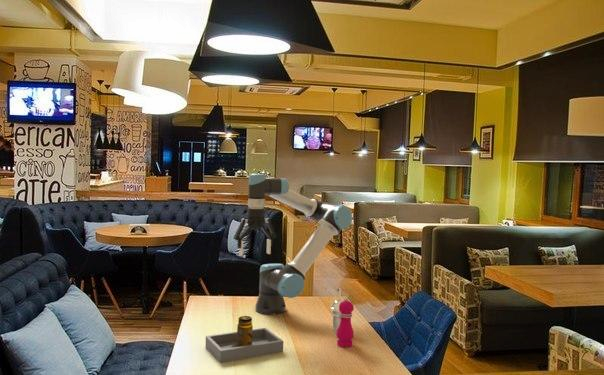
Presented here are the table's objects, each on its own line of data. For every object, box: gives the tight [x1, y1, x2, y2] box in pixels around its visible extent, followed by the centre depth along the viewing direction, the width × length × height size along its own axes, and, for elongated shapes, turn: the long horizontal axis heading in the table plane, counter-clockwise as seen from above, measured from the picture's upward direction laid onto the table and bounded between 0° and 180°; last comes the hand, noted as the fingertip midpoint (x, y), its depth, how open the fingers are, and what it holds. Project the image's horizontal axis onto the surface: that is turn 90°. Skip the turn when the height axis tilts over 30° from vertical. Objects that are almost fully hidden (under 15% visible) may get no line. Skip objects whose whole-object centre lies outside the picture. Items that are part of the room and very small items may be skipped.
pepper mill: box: [336, 296, 355, 349], centre depth 215 cm, size 7×7×20 cm
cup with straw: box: [329, 287, 344, 333], centre depth 232 cm, size 8×9×20 cm
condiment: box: [229, 315, 254, 348], centre depth 205 cm, size 7×8×12 cm
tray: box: [205, 327, 284, 364], centre depth 206 cm, size 26×17×4 cm, turn 119°
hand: (254, 254), depth 237 cm, fingers open, 13 cm apart
